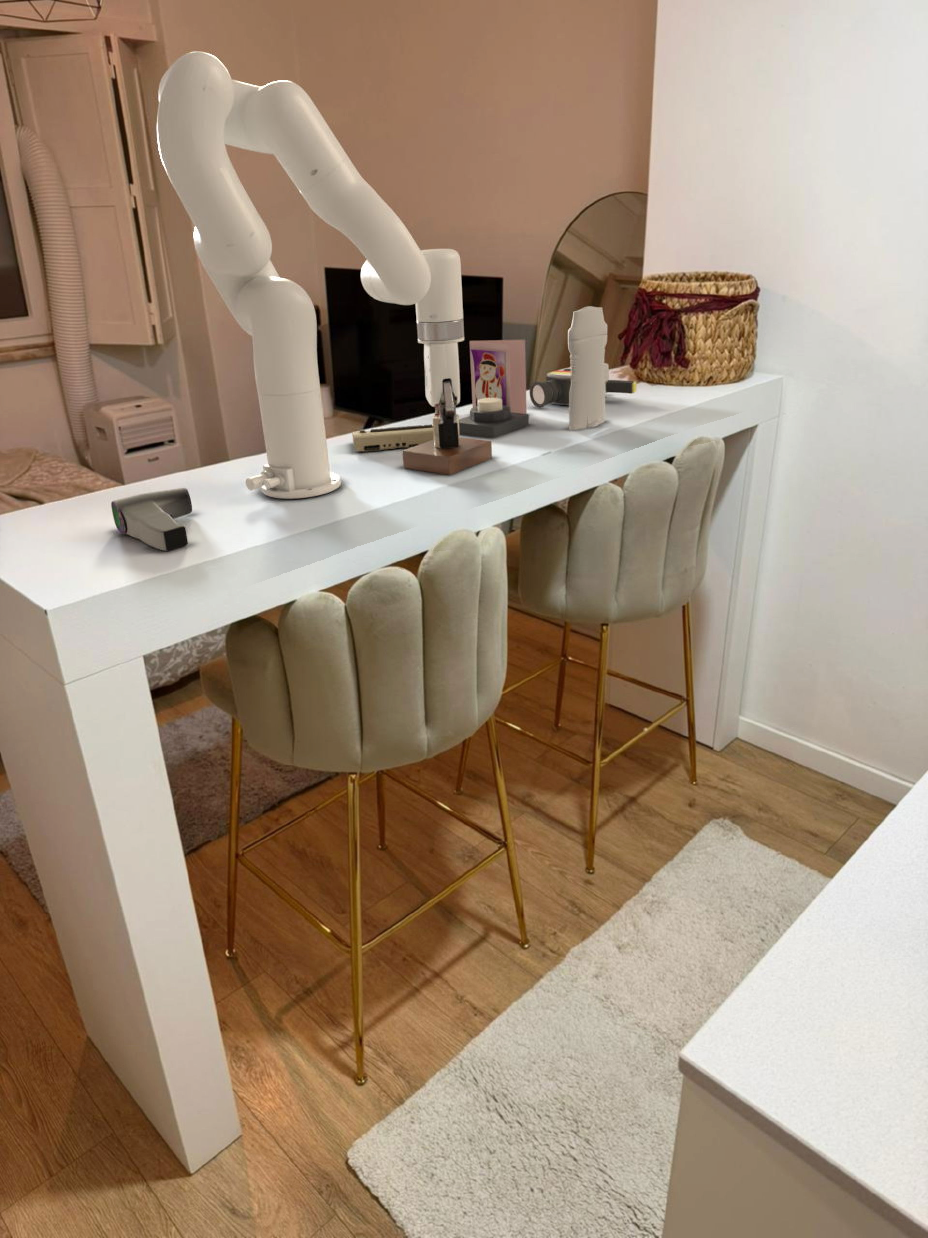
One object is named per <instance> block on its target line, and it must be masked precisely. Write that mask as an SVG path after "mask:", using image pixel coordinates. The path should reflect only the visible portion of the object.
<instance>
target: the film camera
mask: <svg viewBox="0 0 928 1238" xmlns="http://www.w3.org/2000/svg"><path fill="white" fill-rule="evenodd" d="M609 370H610V369H609V363H606V362H604V381H605V395H606V394H608V393H614V394H615V393H616V394H630V395H631V394H635V393H636V392H637V389H638V388H637V381H636V380H635V381H634V380H624V379H623V380H622V379H621V380H619V379H610V376H609V375H610V371H609ZM545 380H546V381H533V382H532V383H531V385H530V386H529V398H530V401H531V403H532V405H534V406H535V407H536V408H538V409H542V408H544V407H545V406H547V405H549V404H554V405H559V406H569V391H570V386H571V381H570V380H571V367H570V366H569V367H565V368H560V369H558V370H554V371H551V372H548V373H546V379H545Z"/></svg>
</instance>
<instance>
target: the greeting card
mask: <svg viewBox="0 0 928 1238" xmlns="http://www.w3.org/2000/svg"><path fill="white" fill-rule="evenodd" d="M469 359H470V361H469V362H470V375H471V376H470V380H471V400H472V401H471V402H472V404H471V405H472V408H473V407H476V406H478V405H477V401H478V400H479V399H483V398H500V399H502V405H506V406H508V407H510V412H512V413H522V414H528V412H527V369H526V368H527V367H526V366H527V365H526V363H527V362H526V339H498V340H497V339H496V340H469Z"/></svg>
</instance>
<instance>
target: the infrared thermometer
mask: <svg viewBox="0 0 928 1238" xmlns="http://www.w3.org/2000/svg"><path fill="white" fill-rule="evenodd" d="M110 506H111V512H112V516H113V517H112V518H113V521H114V522H113V523H114V525H115V526H116V530H117V531H118V532H119V533H120V534H122V535H129V536H130V537H133V538H136V539H139V541H140V540H141V542H143V543H145V544H146V545H148V546H151V547H153V548H155V549H157V550H160V551H165V552H168V551H169V552H170V551H172V550H176V549H179V548H182V547H185V546H187V545H188V544H189V541H188V535H187V529H186V526H184V525H181V524H179V523H178V522H176V520H175V519H179V518H181V517H184V516H187V515H189V514H191V513H192V512H193V504H192V499H191V495H190V492H189V490H188V488H185V487H181V488H180V487H179V488H173V489H165V490H157V491H149V492H143V493H139V494H135V495H130V496H127V497H123V498H118V499H115V500H112V501H111V503H110Z"/></svg>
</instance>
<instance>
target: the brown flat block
mask: <svg viewBox="0 0 928 1238" xmlns="http://www.w3.org/2000/svg"><path fill="white" fill-rule="evenodd" d="M492 445H493V444H492V440H486V439H485V440H484V439H477V438H469V437H461V436H460V446H458V447H455V448H447V449H443V448H436V447H435V446H434V440H431V441H429V442H426V443H423V444H420V445H417V446H414V447H411V448H406V449H403V450H402V462H403V463H402V464H403V468H404V469H409V470H415V471H422V472H429V473H434V474H439V475H446V476H447V475H448V476H452V475H454V474H456V473H458V472H462V471H464V470H466V469H468V468H472V467H473V466H477V465H479V464H481V463H483V462H486V461H488V460H490V459H492V458H493V448H492Z"/></svg>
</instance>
